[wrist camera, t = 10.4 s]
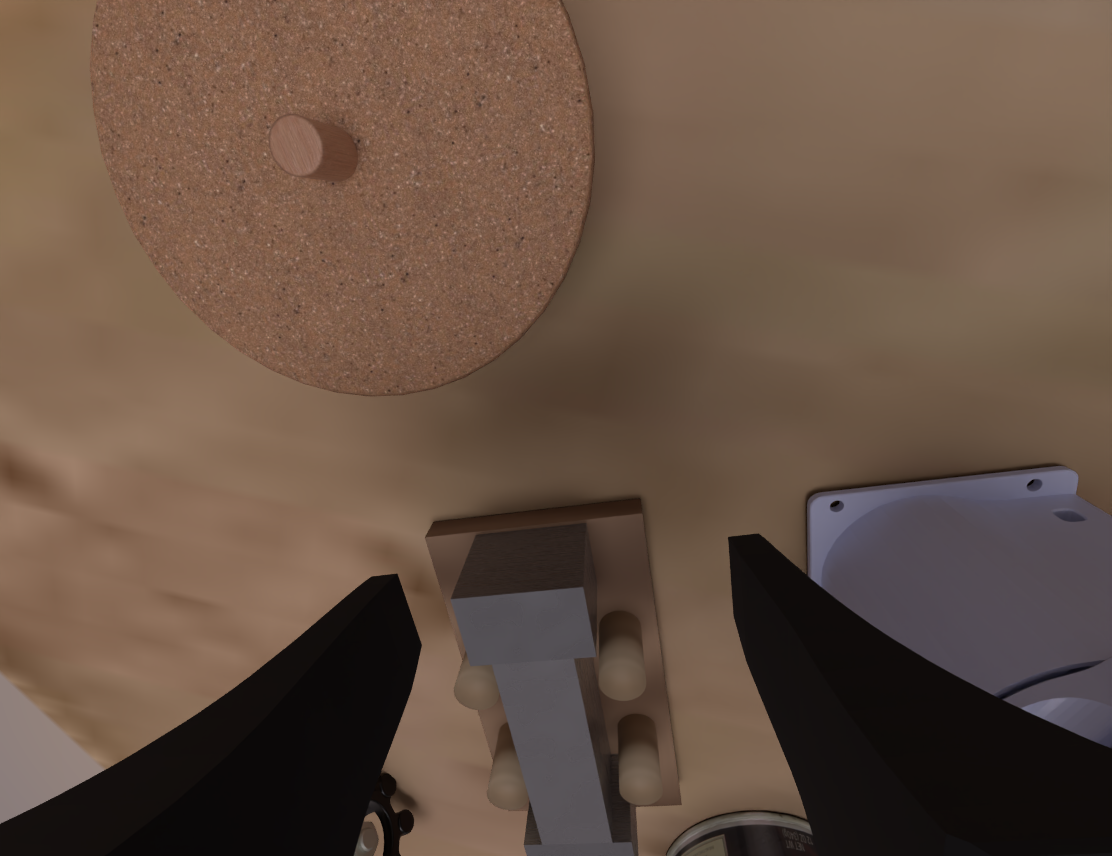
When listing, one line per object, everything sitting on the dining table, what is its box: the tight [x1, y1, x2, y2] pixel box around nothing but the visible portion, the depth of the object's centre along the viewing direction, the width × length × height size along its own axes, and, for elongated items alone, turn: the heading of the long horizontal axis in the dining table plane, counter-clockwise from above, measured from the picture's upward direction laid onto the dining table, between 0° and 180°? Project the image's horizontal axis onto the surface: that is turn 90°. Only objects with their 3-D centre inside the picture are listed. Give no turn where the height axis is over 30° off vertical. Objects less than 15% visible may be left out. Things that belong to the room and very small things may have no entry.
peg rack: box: [425, 499, 682, 811], centre depth 24 cm, size 17×9×4 cm, turn 10°
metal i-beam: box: [450, 523, 638, 856], centre depth 23 cm, size 16×5×4 cm, turn 10°
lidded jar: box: [90, 0, 595, 396], centre depth 14 cm, size 11×11×9 cm
